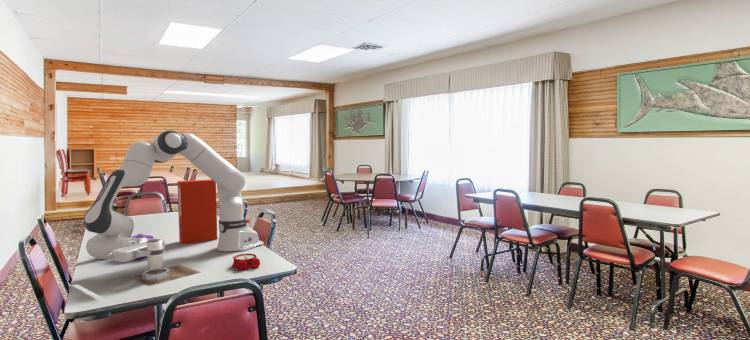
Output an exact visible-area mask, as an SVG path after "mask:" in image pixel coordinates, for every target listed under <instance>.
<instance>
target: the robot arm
mask: <svg viewBox="0 0 750 340" xmlns="http://www.w3.org/2000/svg"><path fill="white" fill-rule="evenodd" d="M177 155H180V156H183V158H185V159H187V161H189V163H191V164H192V165H193V166H194V167H195V168H197V169H198V170H199V171H200V172H202V174H204V175H206V176H207V177H208V178H209V179H212V180H213V181H215V182H216V191H217V198H218V207H219V208H218V209H219V220H218V231H219V234H218V235H219V236H218V242H217V248H216V250H217V251H219V252H242V251H247V250H250V249H254V248H257V247H260V246H263V245H264V242H263V241H262V240H259V239H260V237H259V235H258V232H257V231H256V230H254V229H252V228H251V227H249V226H248V224H250V223H251V219H249V218H245V217H244V201H243V196H242V191H241V190H243V188H244V187H245V185H246V178H245V175H244V173H242V172H241V171H240V170H238V169H237V168H236V167H235V166H234V165H233V164H231V163H230V162H229V161H228V160H226V159H225V158H224V157H223V156H221V155H220V154H219V153H217V152H216V151H215V150H214V149H213V148H212V147H211V146H209V145H208V144H207V143H206V142H205V141H203V140H202V139H201V138H199V137H198V136H196V135H194V134H193V133H191V132H185V133H180V132H178V131H175V130H173V129H172V130H165V131H163V132H161V133H160V134H158V135H157V136H156V137H154V138H153V140H152V141H151V142H147V141H142V140H137V141H135V142H133V143H132V144H131V145H130V147H129V148H128V150H127V152H126V154H125V155H124V158H123V160H122V163H121V165H120V166H119V168H118V169H116V170H114V171H113V172H111V173H110V175H108V177H107V179H106V181H105V182H104V184H103V186H102V188H101V189H100V190H99V193H98V195H97V196H96V198H95V200H94V202H93V203H92V205H91V206H90V208H89V209H88V210H87V211H86V213H85V214H84V217H83V225H84V228H85V229H86V231H88V232H90V233H94V234H95V235H94V236H93V237H90V238H89V239H88V240H87V241H86V244H85V249H86V252H87V254H89V256H91V257H92V258H95V259H100V260H112V261H113V262H119V263H127V262H131V261H133V260H137V259H136V258H139V257H143V256H151V255H152V251H147V241H149V240H154V239H155V237H154V238H146V237H144V236H142V237H134V238H133V237H131V236H132V233H133V231H134V228H135V227H134V225H135V224H134V220H133V219H132V217H129V216H128V215H125V214H124V213H123V214H122V213H120V212H118V211H115V210H114V211H113V210H112V208H111V207H113V206H112V205H113V204H114V202H115V199H117V197H118V194H119V193H120V190H121V189H122V188H124V187H139V186H141V185H143V184H145V183H146V182H147V181H148V180H149V178H150V177H151V174H152V173H151V172H152V169H153V166H154V163H156V164H157V163H158V164H159V163H160V164H162V163H166V162H169V161H170V160H171V159H173V158H175V157H176V156H177ZM161 240H162V248H163V252H165V250H166V248H165V247H166V245H165V244H166V243H165V241H164V239H161ZM259 245H260V246H259ZM256 246H257V247H256Z"/></svg>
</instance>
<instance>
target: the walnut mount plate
mask: <svg viewBox="0 0 750 340" xmlns="http://www.w3.org/2000/svg"><path fill="white" fill-rule="evenodd" d="M166 268H167V269H170V277H169V278H168V279H165V280H161V281H157V282H146V281H143V280H142V273H140V274H135V275H131V276H128V277H127V278H129V279H131V280H133V281H135V282H138V283H141V284H143V285H145V286H147V287H151V286H155V285H160V284H163V283H166V282H170V281H173V280H178V279H182V278H186V277H189V276H193V275H197V274H200V273H202V271H199V270H196V269H193V268H190V267H187V266H184V265H181V264H178V265H174V266H173V265H172V266H168V267H166Z"/></svg>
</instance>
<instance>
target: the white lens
mask: <svg viewBox="0 0 750 340" xmlns="http://www.w3.org/2000/svg"><path fill="white" fill-rule="evenodd" d="M162 240H163V239H160V238H154V240H149V241H147V251H152V255H151V256H148V257H147V269H148V270H151V269H158V268H164V263H163V262H164V261H163V260H164V259H163V257H164V256H163V253H164V251H163V248H162Z"/></svg>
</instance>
